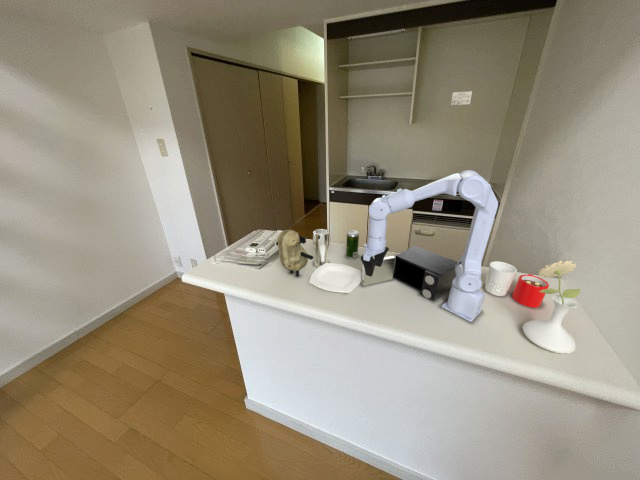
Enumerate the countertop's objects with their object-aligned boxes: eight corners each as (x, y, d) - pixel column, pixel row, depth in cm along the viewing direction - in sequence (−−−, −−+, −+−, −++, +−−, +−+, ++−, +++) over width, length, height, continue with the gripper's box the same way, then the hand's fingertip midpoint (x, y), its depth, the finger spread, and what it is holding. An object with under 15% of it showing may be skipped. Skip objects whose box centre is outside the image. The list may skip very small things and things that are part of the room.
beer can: (360, 256, 117) (361, 232, 112) (351, 260, 114) (353, 235, 109) (351, 252, 121) (352, 229, 116) (343, 255, 118) (344, 232, 113)
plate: (366, 273, 104) (367, 269, 103) (351, 301, 88) (351, 296, 87) (323, 264, 111) (323, 260, 111) (302, 287, 96) (302, 283, 95)
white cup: (482, 282, 98) (489, 259, 94) (507, 288, 94) (516, 264, 90) (482, 292, 92) (489, 269, 88) (508, 299, 88) (518, 275, 84)
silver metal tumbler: (332, 262, 113) (332, 230, 107) (323, 269, 108) (323, 236, 101) (318, 258, 116) (318, 227, 110) (310, 264, 111) (309, 232, 105)
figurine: (322, 276, 102) (322, 230, 94) (301, 290, 94) (298, 241, 86) (289, 261, 114) (286, 219, 105) (267, 272, 106) (262, 227, 97)
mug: (535, 290, 93) (543, 272, 90) (543, 310, 83) (552, 290, 80) (509, 285, 96) (515, 266, 93) (513, 303, 87) (521, 283, 83)
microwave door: (355, 276, 102) (356, 255, 98) (382, 271, 106) (385, 250, 102) (363, 285, 96) (365, 263, 92) (392, 279, 100) (395, 257, 96)
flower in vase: (563, 332, 74) (602, 256, 64) (581, 363, 65) (630, 280, 54) (510, 320, 79) (538, 248, 69) (519, 347, 70) (553, 268, 59)
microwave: (432, 302, 87) (437, 277, 83) (388, 279, 100) (391, 257, 96) (453, 285, 96) (459, 262, 92) (411, 267, 109) (414, 245, 104)
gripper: (374, 225, 92) (371, 259, 97) (355, 239, 81) (353, 276, 87) (393, 230, 88) (389, 264, 94) (376, 245, 77) (373, 282, 83)
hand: (373, 270), depth 90 cm, fingers open, 7 cm apart
